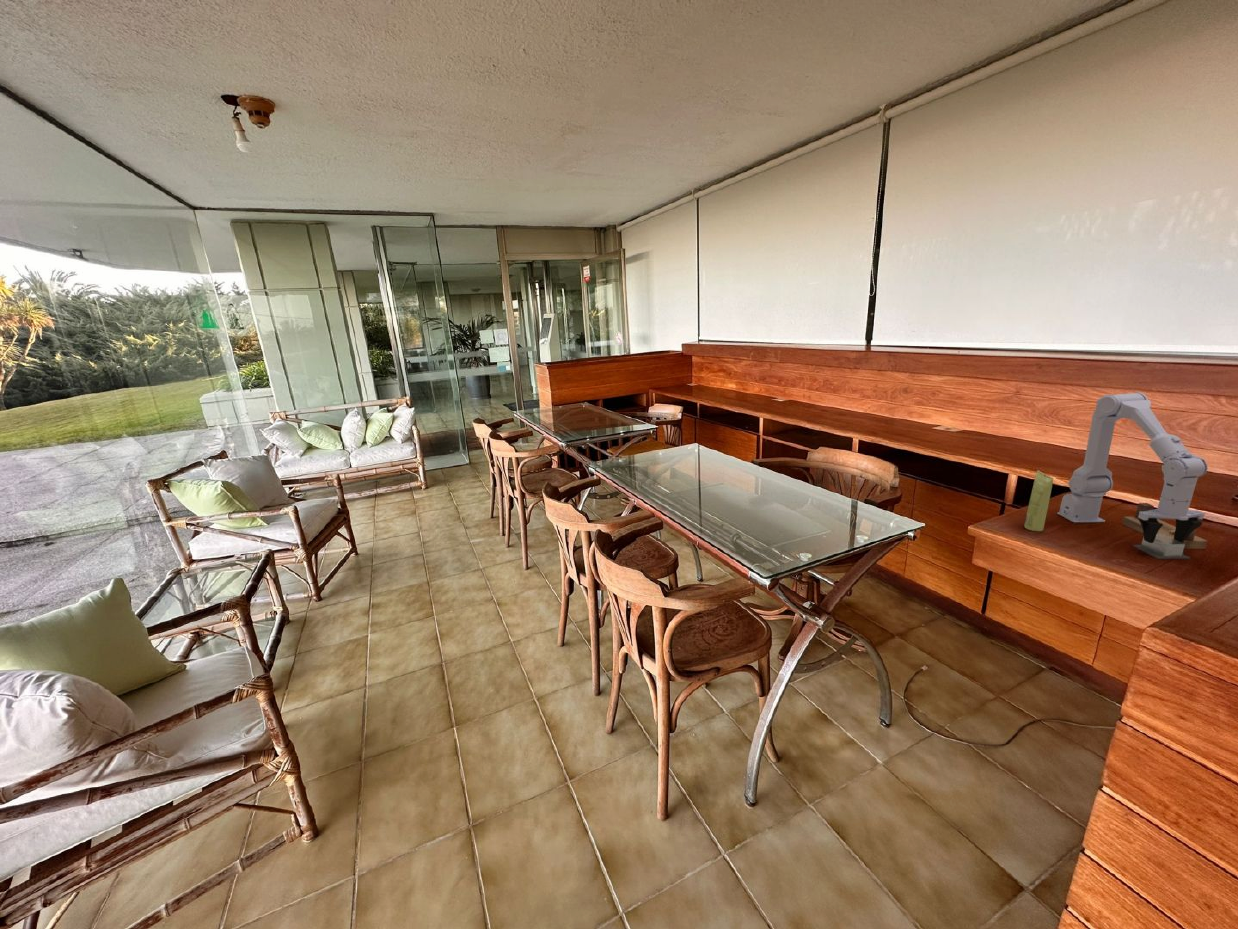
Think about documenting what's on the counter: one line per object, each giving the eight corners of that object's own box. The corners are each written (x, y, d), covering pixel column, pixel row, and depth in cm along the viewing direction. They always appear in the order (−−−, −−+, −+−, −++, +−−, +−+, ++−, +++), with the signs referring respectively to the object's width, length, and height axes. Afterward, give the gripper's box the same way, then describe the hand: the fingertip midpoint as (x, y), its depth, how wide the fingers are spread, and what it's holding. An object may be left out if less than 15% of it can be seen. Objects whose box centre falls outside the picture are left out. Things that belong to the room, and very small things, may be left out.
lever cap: (1163, 557, 138) (1167, 544, 137) (1141, 545, 145) (1144, 533, 144) (1181, 556, 138) (1185, 544, 137) (1157, 545, 144) (1161, 533, 143)
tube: (1048, 529, 160) (1059, 473, 154) (1042, 533, 157) (1053, 477, 152) (1027, 524, 164) (1037, 470, 159) (1021, 528, 162) (1031, 473, 156)
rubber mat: (1157, 559, 138) (1157, 557, 138) (1133, 546, 146) (1133, 545, 146) (1189, 558, 137) (1190, 557, 137) (1163, 545, 145) (1163, 544, 144)
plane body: (1173, 549, 143) (1180, 525, 140) (1121, 523, 160) (1127, 502, 157) (1205, 548, 141) (1212, 525, 139) (1149, 523, 158) (1155, 502, 156)
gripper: (1159, 504, 134) (1147, 548, 138) (1220, 502, 132) (1206, 547, 136) (1136, 494, 140) (1126, 537, 144) (1194, 493, 138) (1182, 536, 142)
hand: (1163, 541), depth 140 cm, fingers open, 7 cm apart
